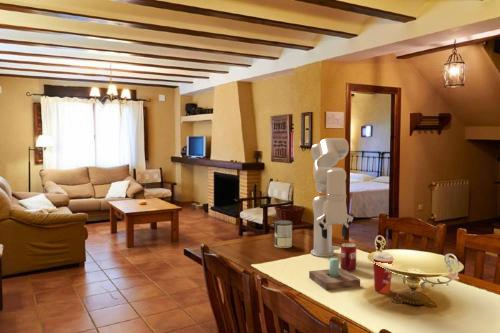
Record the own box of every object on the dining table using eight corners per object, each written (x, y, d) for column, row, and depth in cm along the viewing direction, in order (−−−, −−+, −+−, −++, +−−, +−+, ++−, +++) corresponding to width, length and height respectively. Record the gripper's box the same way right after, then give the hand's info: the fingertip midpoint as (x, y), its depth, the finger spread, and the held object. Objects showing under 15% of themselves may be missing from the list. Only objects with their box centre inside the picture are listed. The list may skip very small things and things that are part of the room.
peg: (335, 279, 181) (336, 257, 180) (340, 283, 177) (340, 260, 176) (327, 280, 179) (327, 258, 179) (332, 283, 176) (332, 261, 175)
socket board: (340, 274, 188) (340, 268, 188) (360, 286, 173) (360, 279, 173) (309, 277, 183) (309, 271, 183) (326, 290, 168) (326, 283, 168)
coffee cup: (390, 295, 162) (391, 258, 161) (369, 291, 167) (370, 255, 166) (395, 289, 169) (396, 253, 168) (375, 285, 174) (375, 250, 173)
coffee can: (270, 245, 239) (270, 221, 238) (282, 242, 246) (282, 219, 245) (283, 249, 231) (283, 224, 230) (295, 245, 238) (295, 222, 237)
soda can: (357, 268, 197) (357, 244, 196) (354, 273, 190) (355, 247, 189) (342, 266, 200) (342, 242, 199) (338, 270, 193) (339, 245, 192)
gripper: (348, 195, 182) (347, 233, 183) (313, 197, 177) (312, 236, 178) (357, 198, 175) (356, 237, 176) (321, 200, 170) (320, 240, 171)
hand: (334, 237), depth 177 cm, fingers open, 9 cm apart
